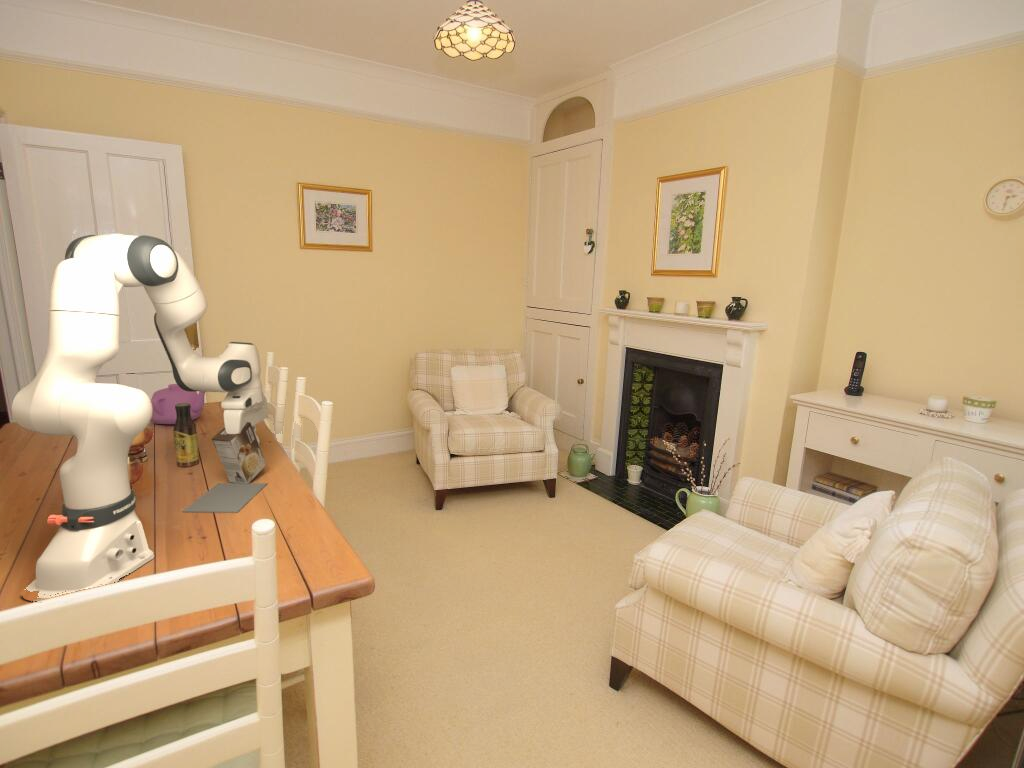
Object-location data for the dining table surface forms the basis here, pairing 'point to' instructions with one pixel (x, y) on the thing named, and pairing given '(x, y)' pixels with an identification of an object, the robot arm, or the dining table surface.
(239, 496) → the mat
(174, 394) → the teapot
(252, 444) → the coffee box
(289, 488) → the dining table surface
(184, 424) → the sauce bottle
